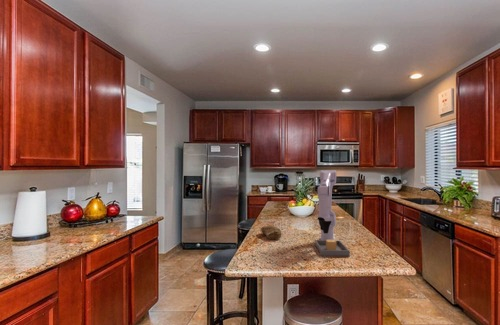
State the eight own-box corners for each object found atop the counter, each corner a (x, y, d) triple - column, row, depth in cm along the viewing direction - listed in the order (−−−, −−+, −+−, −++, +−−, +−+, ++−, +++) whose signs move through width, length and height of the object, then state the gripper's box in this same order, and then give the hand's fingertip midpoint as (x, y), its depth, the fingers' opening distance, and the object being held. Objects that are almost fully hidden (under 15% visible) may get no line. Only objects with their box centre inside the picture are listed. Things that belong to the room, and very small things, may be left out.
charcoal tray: (315, 245, 168) (315, 240, 168) (339, 245, 167) (339, 240, 167) (321, 256, 148) (321, 250, 148) (349, 256, 147) (349, 250, 147)
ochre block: (325, 248, 160) (325, 239, 160) (334, 248, 159) (334, 239, 159) (327, 250, 155) (327, 241, 155) (336, 250, 155) (336, 241, 155)
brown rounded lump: (283, 242, 181) (280, 228, 200) (281, 230, 179) (278, 218, 199) (262, 245, 181) (261, 232, 201) (260, 234, 180) (259, 221, 199)
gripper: (314, 205, 169) (314, 228, 169) (319, 209, 155) (319, 234, 155) (326, 205, 169) (327, 228, 169) (332, 209, 155) (333, 234, 155)
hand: (324, 231), depth 162 cm, fingers open, 7 cm apart
